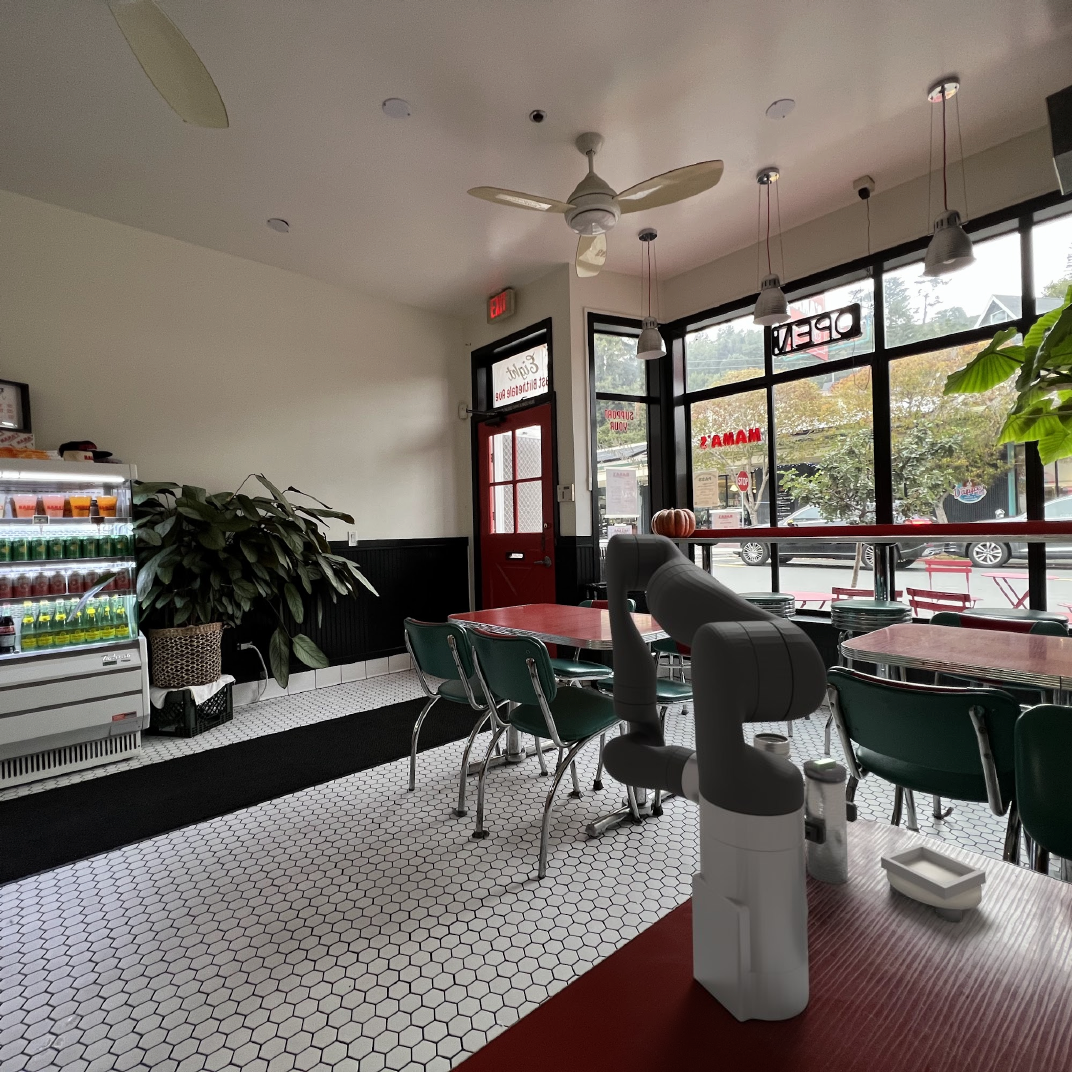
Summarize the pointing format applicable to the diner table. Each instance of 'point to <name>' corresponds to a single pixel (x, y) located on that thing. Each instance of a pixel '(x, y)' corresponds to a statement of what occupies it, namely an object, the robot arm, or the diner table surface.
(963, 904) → the rectangular footed bonsai pot
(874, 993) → the diner table surface
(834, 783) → the grey bottle with lid
